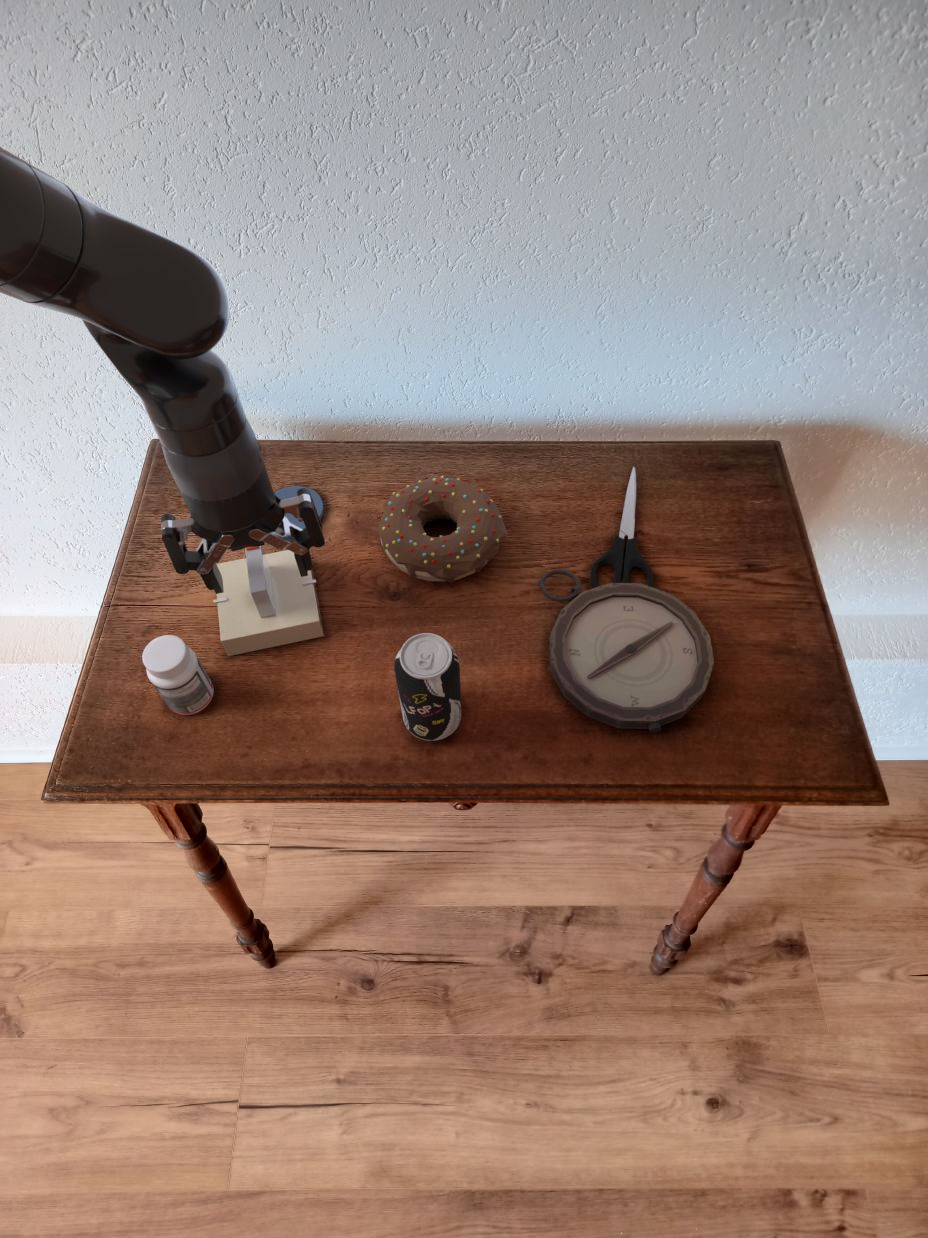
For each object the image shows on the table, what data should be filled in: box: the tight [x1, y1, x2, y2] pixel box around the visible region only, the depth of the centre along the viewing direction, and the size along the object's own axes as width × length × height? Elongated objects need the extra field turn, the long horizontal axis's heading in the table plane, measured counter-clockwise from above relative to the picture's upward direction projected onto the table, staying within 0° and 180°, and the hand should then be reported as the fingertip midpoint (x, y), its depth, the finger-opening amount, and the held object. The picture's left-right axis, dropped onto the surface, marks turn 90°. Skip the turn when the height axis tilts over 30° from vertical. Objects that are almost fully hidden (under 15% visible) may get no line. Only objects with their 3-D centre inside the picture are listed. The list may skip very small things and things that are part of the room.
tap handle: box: [244, 545, 276, 618], centre depth 82 cm, size 6×2×5 cm, turn 14°
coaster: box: [274, 485, 325, 533], centre depth 94 cm, size 7×7×1 cm
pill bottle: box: [141, 634, 215, 716], centre depth 78 cm, size 5×5×8 cm
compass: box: [538, 568, 715, 734], centre depth 82 cm, size 20×16×2 cm
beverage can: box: [393, 632, 463, 742], centre depth 74 cm, size 6×6×12 cm
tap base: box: [212, 549, 325, 657], centre depth 85 cm, size 11×10×3 cm
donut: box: [377, 475, 509, 584], centre depth 89 cm, size 14×14×5 cm
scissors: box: [589, 466, 654, 589], centre depth 91 cm, size 7×1×20 cm
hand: (262, 578), depth 82 cm, fingers open, 8 cm apart
